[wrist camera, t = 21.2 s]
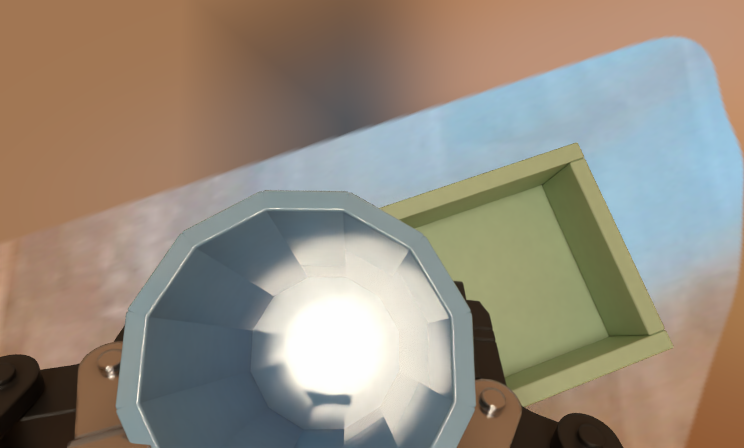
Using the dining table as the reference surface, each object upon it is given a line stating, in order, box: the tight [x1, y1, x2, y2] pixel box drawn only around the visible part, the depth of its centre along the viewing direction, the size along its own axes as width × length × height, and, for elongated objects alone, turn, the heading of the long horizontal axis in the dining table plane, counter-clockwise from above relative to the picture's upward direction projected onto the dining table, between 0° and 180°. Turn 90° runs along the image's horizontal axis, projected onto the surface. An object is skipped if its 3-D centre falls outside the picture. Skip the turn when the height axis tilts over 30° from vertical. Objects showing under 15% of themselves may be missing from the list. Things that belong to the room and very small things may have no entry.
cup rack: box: [379, 143, 673, 407], centre depth 20 cm, size 9×16×4 cm, turn 110°
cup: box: [116, 190, 476, 448], centre depth 13 cm, size 6×6×10 cm
